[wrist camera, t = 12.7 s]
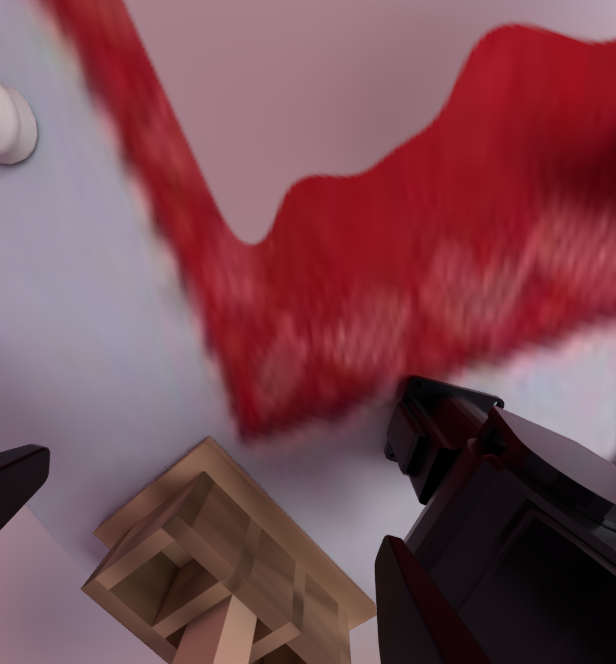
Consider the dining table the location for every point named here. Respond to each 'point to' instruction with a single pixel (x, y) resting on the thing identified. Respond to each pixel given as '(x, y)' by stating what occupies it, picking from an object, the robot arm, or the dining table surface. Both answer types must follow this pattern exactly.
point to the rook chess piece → (16, 127)
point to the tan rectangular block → (218, 635)
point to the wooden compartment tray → (223, 566)
